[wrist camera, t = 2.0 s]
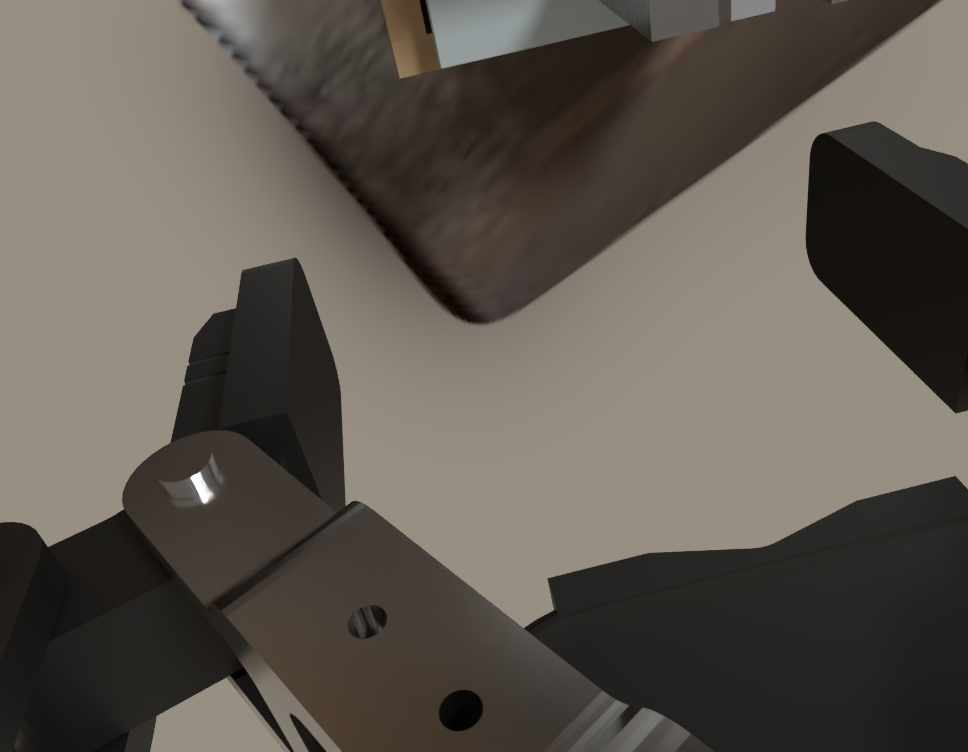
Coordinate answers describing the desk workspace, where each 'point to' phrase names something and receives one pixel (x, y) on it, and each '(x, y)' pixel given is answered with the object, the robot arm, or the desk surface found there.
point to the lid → (532, 24)
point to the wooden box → (421, 36)
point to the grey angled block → (666, 16)
